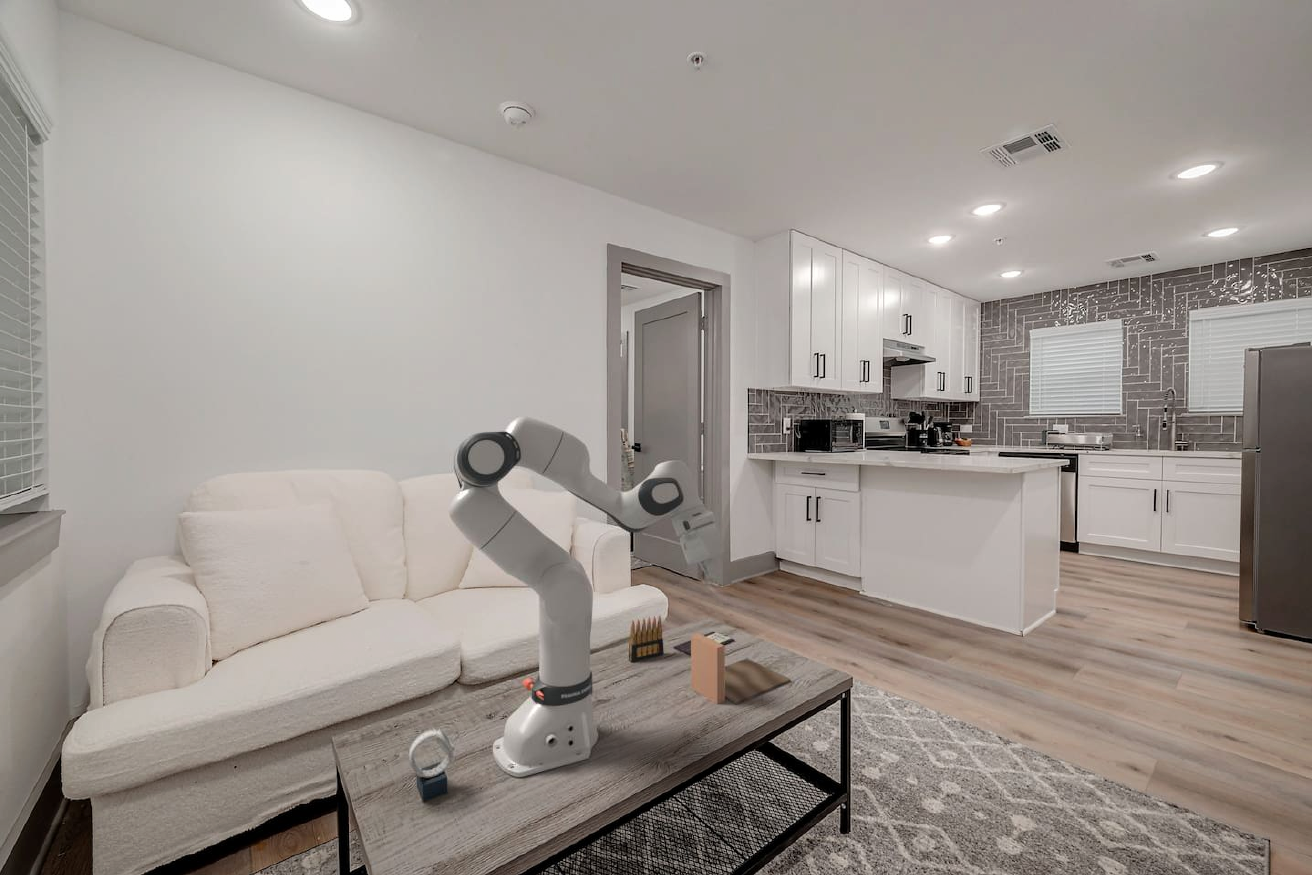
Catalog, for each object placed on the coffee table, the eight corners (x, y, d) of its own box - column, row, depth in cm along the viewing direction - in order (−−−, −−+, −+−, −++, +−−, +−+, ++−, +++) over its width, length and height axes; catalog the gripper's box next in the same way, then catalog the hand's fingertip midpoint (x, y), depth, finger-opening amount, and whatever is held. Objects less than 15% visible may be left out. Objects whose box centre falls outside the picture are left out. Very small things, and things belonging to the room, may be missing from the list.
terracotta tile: (717, 704, 135) (717, 648, 135) (691, 688, 143) (691, 635, 143) (725, 700, 137) (725, 645, 136) (699, 685, 145) (698, 632, 144)
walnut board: (736, 704, 135) (736, 701, 135) (694, 679, 148) (694, 677, 148) (790, 681, 147) (790, 679, 147) (747, 660, 160) (747, 658, 160)
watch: (458, 789, 104) (457, 732, 104) (412, 806, 100) (411, 746, 99) (450, 773, 109) (449, 719, 108) (406, 789, 104) (405, 732, 104)
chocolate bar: (673, 646, 168) (713, 631, 180) (673, 649, 168) (713, 634, 180) (694, 656, 162) (734, 639, 174) (694, 659, 162) (734, 642, 174)
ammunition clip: (660, 653, 165) (660, 613, 165) (663, 655, 163) (663, 615, 163) (628, 660, 160) (628, 619, 160) (631, 662, 158) (631, 621, 158)
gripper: (669, 534, 141) (689, 586, 138) (691, 520, 122) (714, 580, 119) (691, 526, 143) (711, 577, 140) (716, 511, 124) (739, 570, 121)
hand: (713, 578), depth 130 cm, fingers closed
